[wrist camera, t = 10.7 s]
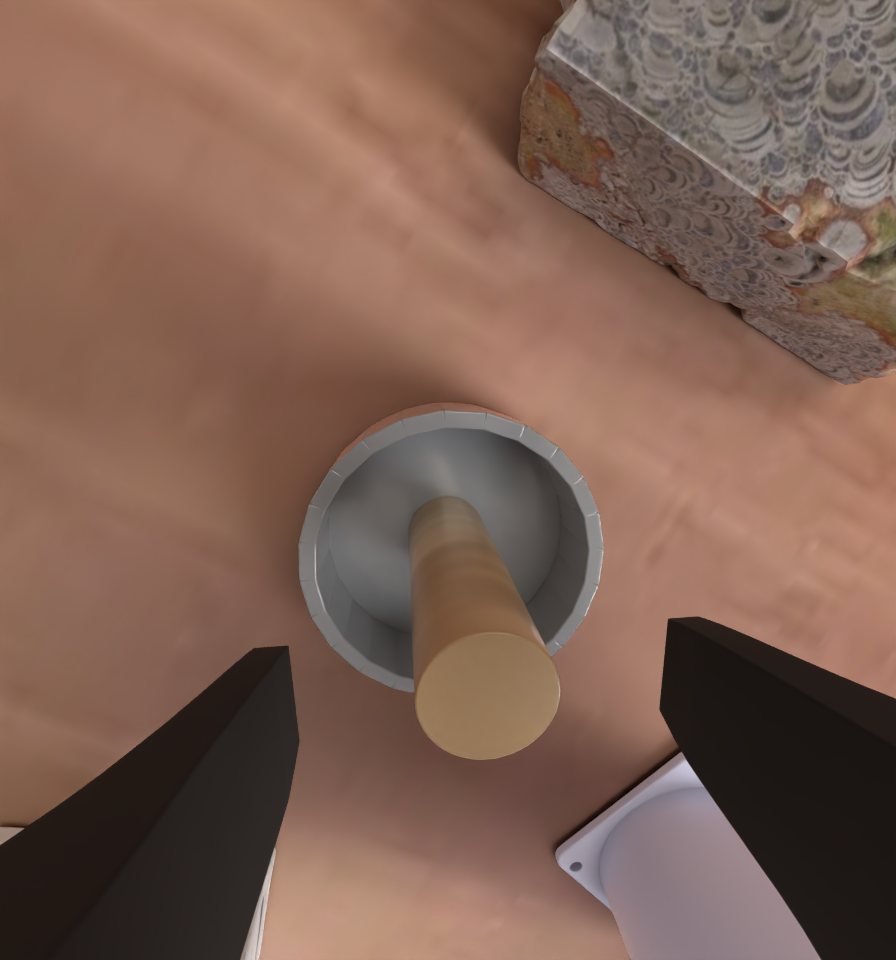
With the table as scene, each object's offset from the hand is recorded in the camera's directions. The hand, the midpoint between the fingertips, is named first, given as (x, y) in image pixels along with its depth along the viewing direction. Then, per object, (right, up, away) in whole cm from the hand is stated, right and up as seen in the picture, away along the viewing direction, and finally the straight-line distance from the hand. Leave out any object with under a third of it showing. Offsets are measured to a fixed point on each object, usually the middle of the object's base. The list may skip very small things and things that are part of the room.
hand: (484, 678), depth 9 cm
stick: (-1, +2, +8) cm, 8 cm away
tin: (-1, +2, +8) cm, 8 cm away
